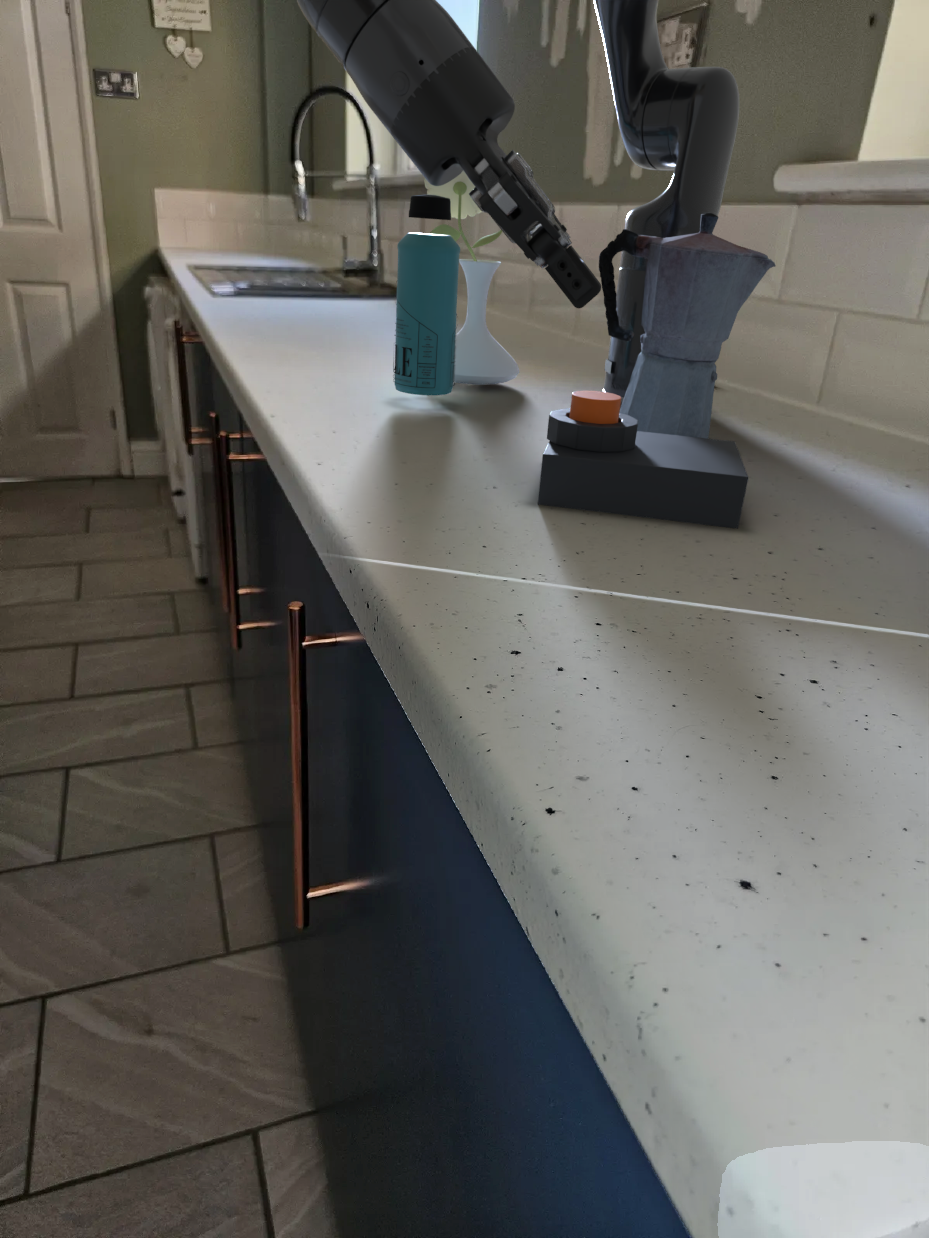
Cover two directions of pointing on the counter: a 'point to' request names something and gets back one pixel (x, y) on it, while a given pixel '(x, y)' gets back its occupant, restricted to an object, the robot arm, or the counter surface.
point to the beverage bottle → (426, 304)
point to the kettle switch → (595, 407)
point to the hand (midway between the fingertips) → (590, 299)
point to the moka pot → (681, 322)
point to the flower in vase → (474, 296)
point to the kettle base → (641, 472)
